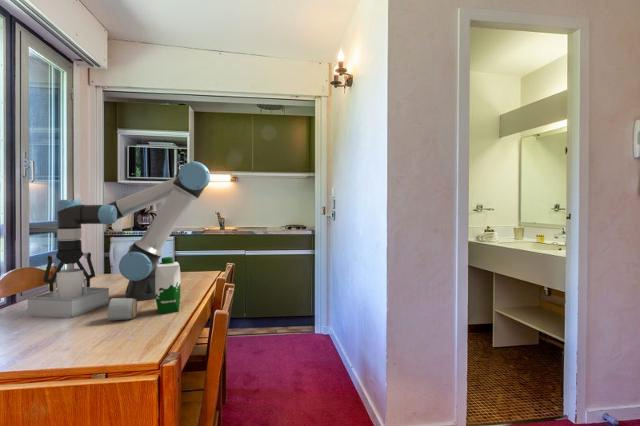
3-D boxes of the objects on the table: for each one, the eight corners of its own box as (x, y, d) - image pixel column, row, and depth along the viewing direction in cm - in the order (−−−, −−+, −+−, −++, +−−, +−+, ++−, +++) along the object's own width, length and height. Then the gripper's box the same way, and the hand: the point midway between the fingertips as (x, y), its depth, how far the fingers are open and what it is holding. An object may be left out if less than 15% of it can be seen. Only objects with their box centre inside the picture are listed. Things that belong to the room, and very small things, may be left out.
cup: (65, 298, 140) (65, 268, 139) (89, 298, 140) (89, 268, 140) (50, 305, 131) (49, 273, 130) (75, 304, 131) (75, 272, 131)
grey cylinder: (134, 321, 122) (134, 299, 122) (107, 323, 119) (107, 301, 119) (139, 312, 132) (139, 292, 132) (114, 315, 130) (114, 294, 130)
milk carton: (179, 305, 141) (178, 256, 140) (181, 312, 133) (181, 259, 132) (155, 308, 137) (154, 257, 136) (156, 315, 129) (155, 261, 128)
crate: (108, 303, 143) (108, 287, 143) (72, 317, 125) (71, 299, 125) (69, 302, 146) (69, 286, 146) (27, 315, 128) (27, 297, 128)
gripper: (101, 237, 145) (102, 291, 145) (33, 240, 131) (34, 300, 132) (103, 238, 139) (104, 295, 139) (32, 242, 125) (33, 304, 126)
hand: (70, 297), depth 135 cm, fingers closed on cup, 9 cm apart
